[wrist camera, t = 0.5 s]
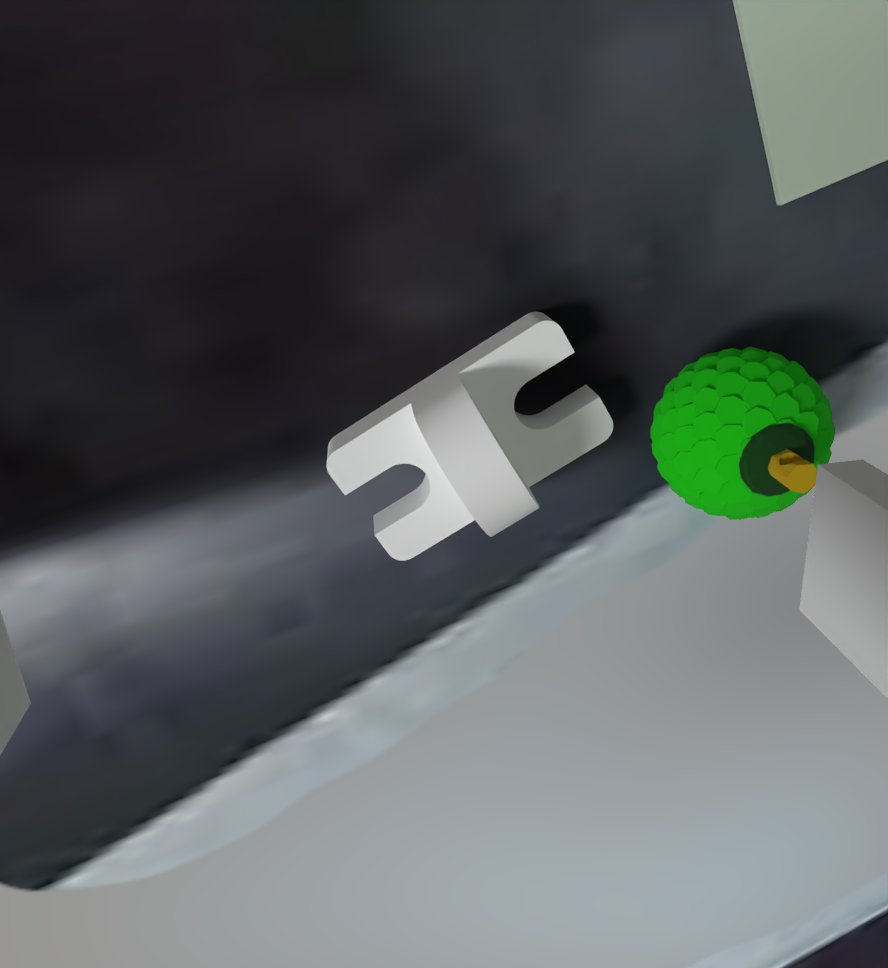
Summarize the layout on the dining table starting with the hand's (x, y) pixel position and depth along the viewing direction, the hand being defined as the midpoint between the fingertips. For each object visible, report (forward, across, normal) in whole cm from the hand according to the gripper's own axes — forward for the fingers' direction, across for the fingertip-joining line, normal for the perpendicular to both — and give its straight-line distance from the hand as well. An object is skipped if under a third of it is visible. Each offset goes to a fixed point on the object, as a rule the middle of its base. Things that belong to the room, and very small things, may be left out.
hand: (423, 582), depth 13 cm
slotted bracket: (+28, +4, -7) cm, 29 cm away
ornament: (+27, +17, -7) cm, 33 cm away
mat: (+27, +24, +10) cm, 37 cm away
